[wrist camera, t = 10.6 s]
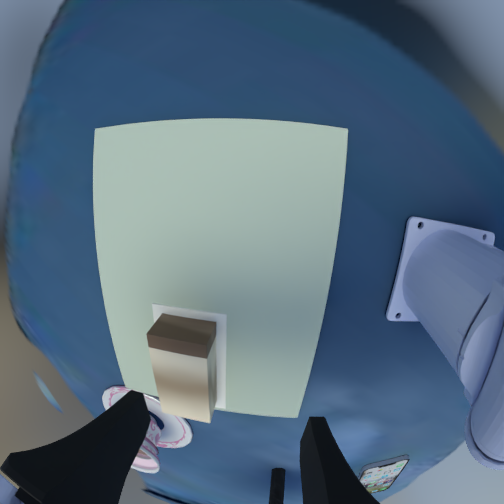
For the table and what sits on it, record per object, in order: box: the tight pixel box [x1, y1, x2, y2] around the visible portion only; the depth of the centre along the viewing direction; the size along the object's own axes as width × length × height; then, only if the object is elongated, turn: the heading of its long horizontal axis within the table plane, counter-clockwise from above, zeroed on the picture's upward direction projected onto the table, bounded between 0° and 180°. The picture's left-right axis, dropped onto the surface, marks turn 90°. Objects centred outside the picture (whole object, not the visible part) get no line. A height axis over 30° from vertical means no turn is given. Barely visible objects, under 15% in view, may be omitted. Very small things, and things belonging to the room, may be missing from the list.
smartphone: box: [358, 455, 409, 494], centre depth 27 cm, size 7×1×15 cm
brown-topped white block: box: [146, 313, 217, 423], centre depth 20 cm, size 9×4×3 cm, turn 176°
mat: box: [93, 119, 348, 418], centre depth 20 cm, size 18×25×1 cm
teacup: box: [102, 386, 193, 473], centre depth 23 cm, size 12×12×6 cm
